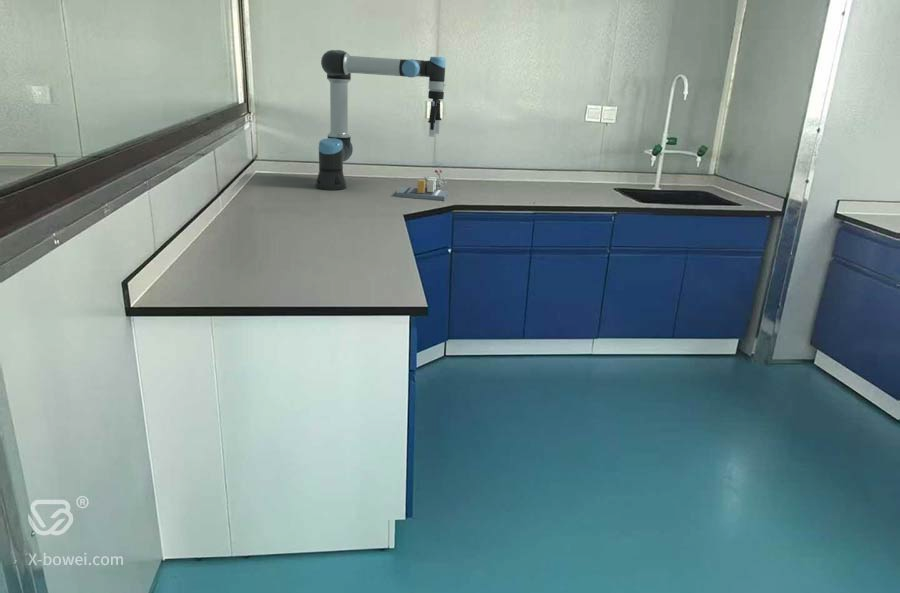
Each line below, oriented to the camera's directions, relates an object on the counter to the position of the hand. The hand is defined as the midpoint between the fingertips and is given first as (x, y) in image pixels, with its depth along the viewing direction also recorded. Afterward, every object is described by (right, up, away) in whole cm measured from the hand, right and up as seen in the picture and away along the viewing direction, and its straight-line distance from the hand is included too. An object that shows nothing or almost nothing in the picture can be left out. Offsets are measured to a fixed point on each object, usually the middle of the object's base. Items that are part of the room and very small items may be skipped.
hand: (434, 135), depth 315 cm
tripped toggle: (-6, -30, -8) cm, 32 cm away
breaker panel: (-6, -31, -3) cm, 32 cm away
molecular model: (+1, -25, +14) cm, 29 cm away
